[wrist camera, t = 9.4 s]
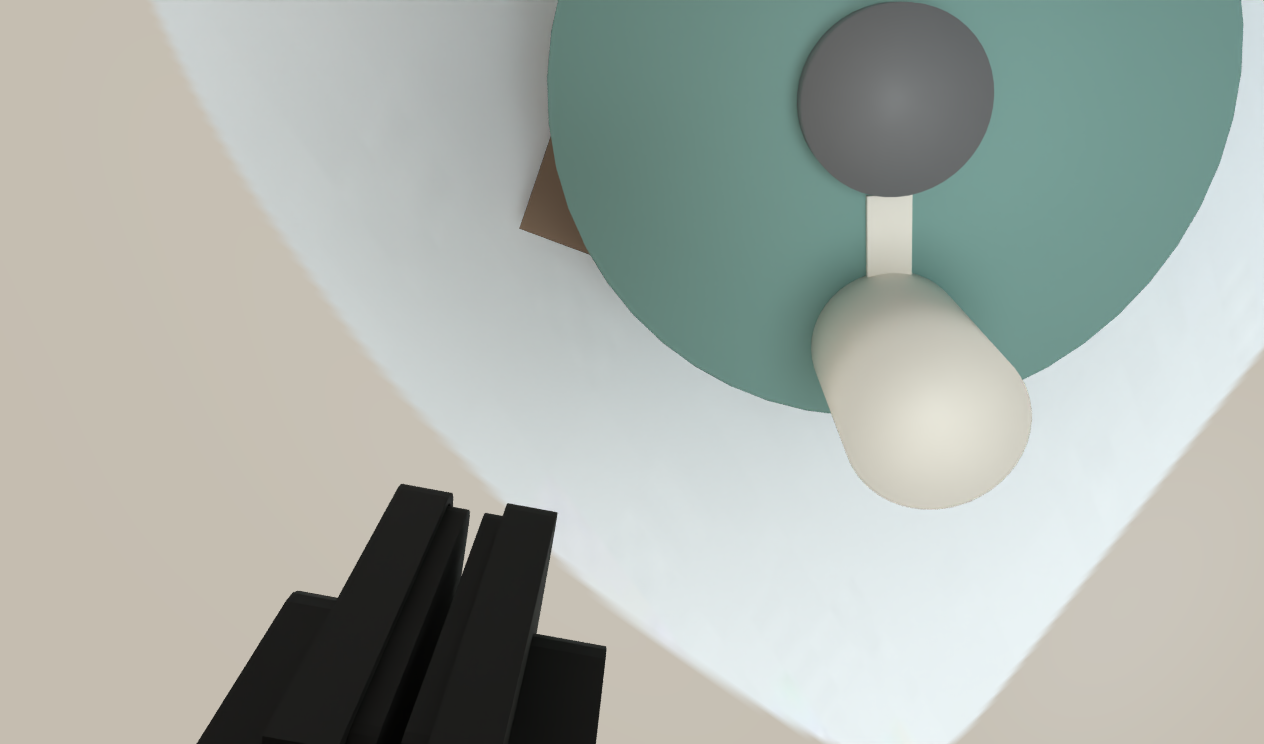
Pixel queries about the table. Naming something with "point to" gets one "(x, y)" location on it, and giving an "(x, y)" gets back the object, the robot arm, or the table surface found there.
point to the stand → (551, 207)
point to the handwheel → (889, 196)
